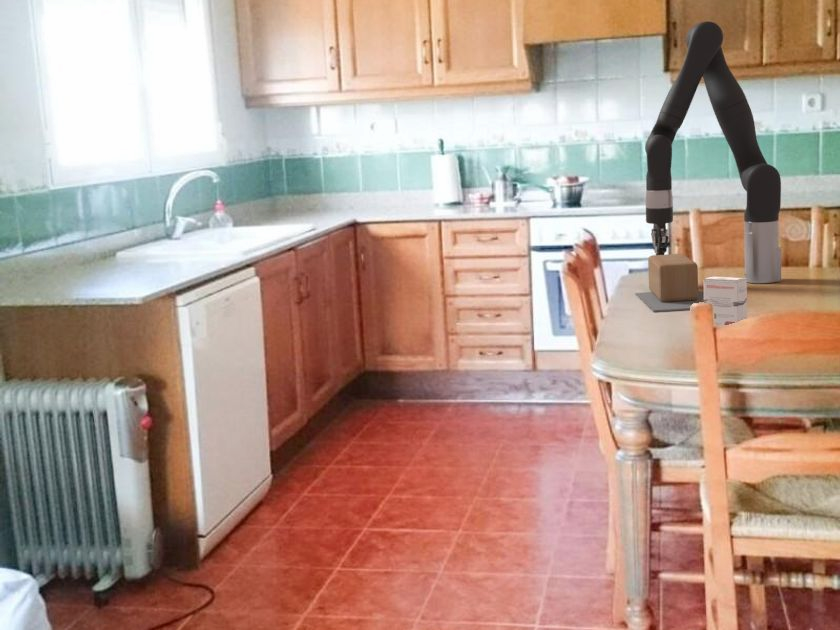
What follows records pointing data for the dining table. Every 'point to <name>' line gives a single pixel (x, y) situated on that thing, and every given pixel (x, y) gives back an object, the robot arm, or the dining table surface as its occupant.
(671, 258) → the wooden block
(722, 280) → the ink box
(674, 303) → the rubber mat
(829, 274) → the dining table surface
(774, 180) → the robot arm
